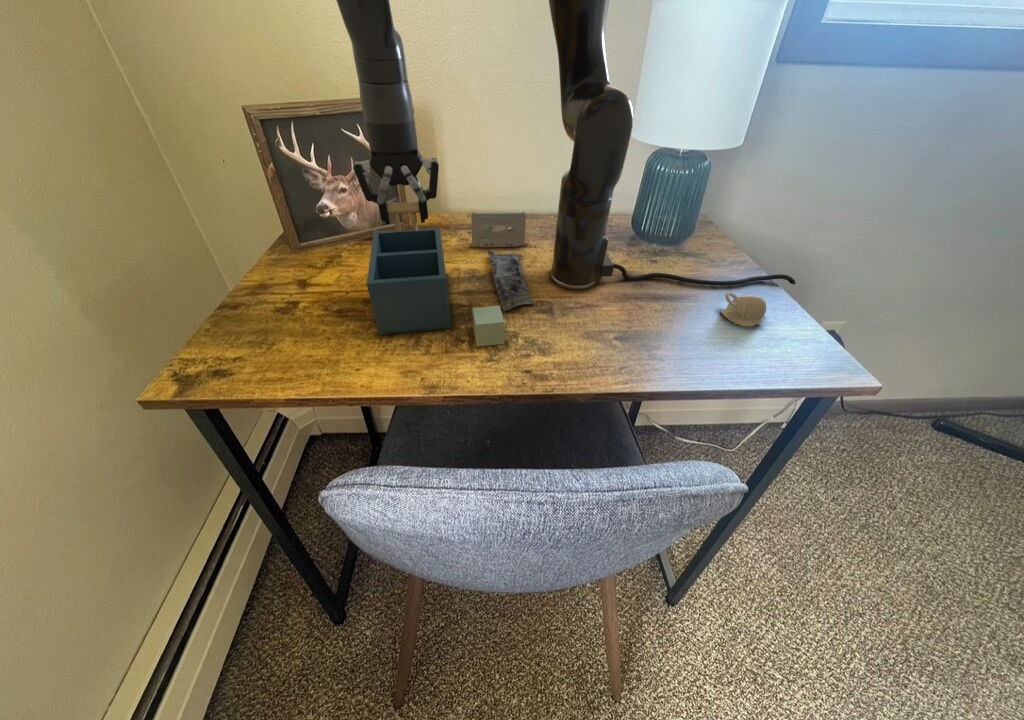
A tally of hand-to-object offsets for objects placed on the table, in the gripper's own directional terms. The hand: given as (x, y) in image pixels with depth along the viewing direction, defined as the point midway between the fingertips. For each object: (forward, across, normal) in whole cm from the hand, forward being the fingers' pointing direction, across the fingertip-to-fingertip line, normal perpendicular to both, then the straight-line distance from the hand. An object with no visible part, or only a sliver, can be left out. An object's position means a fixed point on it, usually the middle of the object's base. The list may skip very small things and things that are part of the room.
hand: (405, 221), depth 73 cm
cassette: (+12, +19, +11) cm, 25 cm away
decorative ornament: (+12, +58, -23) cm, 63 cm away
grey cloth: (+12, +19, -4) cm, 23 cm away
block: (+12, +12, -21) cm, 27 cm away
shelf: (+12, 0, -8) cm, 14 cm away
